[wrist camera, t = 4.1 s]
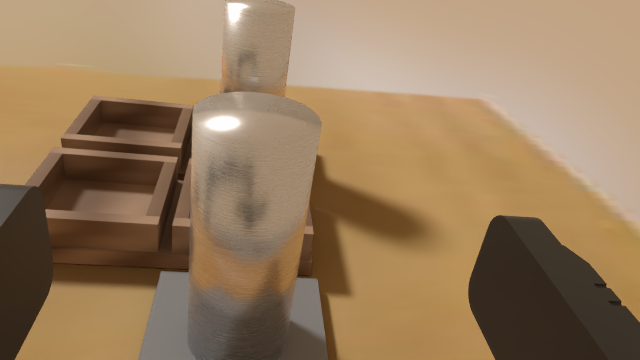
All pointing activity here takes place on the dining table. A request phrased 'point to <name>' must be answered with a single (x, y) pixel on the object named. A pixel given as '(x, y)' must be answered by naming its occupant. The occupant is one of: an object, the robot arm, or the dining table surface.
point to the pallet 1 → (134, 129)
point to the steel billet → (247, 221)
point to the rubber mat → (172, 309)
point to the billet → (256, 46)
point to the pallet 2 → (122, 209)
